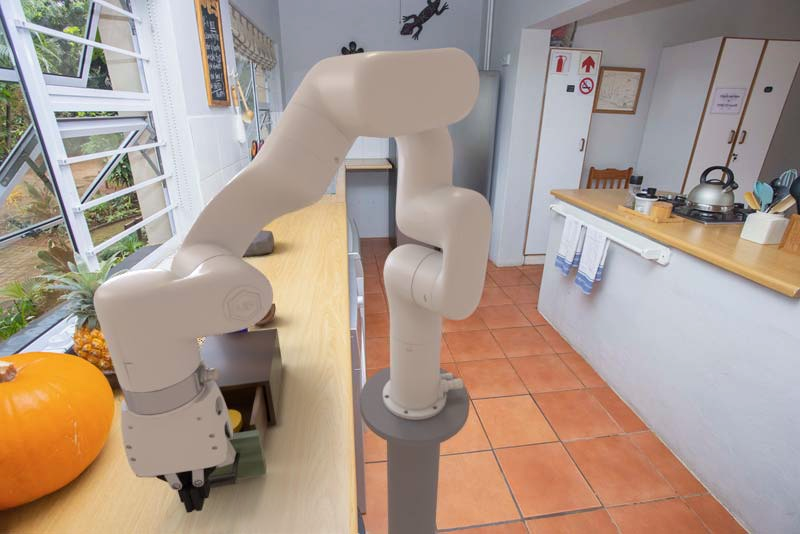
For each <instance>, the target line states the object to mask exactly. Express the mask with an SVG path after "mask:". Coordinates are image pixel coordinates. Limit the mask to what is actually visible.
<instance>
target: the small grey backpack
mask: <svg viewBox="0 0 800 534" xmlns="http://www.w3.org/2000/svg"><path fill="white" fill-rule="evenodd" d="M274 246H275V237H274V233H273V232H272V230H263V229H262V230H261V231H260V232H259V233H258V234H257V236H256V237H255V238H254V239H253V241H252V242H251V244H250V245H249V247H248V248H247V250H246V252H245V253H244V255H243V257H252V256H261V255H265V254H270V253H272V252H273V249H274Z"/></svg>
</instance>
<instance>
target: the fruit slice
mask: <svg viewBox="0 0 800 534" xmlns="http://www.w3.org/2000/svg"><path fill="white" fill-rule="evenodd" d="M276 310H277V309H276V303H273V302H272V306H271V308H270V310H269V311H268V313H267V314H266V315H265V317H264V318H263V319H261V320H260V321H259V322H257V323H256V324H255V325H259V326H260V325H266V324H268V323H270V322H271V321H272V320H273V319H274V317H275V315H276Z"/></svg>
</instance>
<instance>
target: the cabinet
mask: <svg viewBox="0 0 800 534" xmlns="http://www.w3.org/2000/svg"><path fill="white" fill-rule="evenodd" d="M278 330H279V329H278V328H277V327H276V328H267V329H257V330H250V331H249V330H248V332H238V333H229V334H220V335H213V336H208V337H204V340H203V342H202V345H201V347H200V348H199V351H200V355H201V359H203V360H204V364H205V365H206V367H210V368H217V369H218V378H217V380H215V382H216V384H217V385H218V387H219V389H220V391H225V390H233V389H240V388H248V387H255V386H263V385H265V390H266V396H267V402H268V408H269V412H268V419H267V426H273V425H277V423H278V414H279V403H280V395H281V386H282V377H283V376H282V375H283V368H284V367H283V359H282V352H281V345H280V340H279V339H280V338H279V331H278ZM267 426H266V427H267Z"/></svg>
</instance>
